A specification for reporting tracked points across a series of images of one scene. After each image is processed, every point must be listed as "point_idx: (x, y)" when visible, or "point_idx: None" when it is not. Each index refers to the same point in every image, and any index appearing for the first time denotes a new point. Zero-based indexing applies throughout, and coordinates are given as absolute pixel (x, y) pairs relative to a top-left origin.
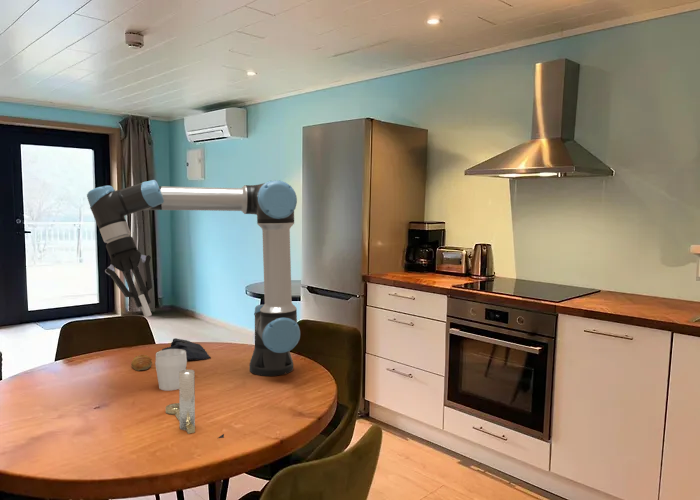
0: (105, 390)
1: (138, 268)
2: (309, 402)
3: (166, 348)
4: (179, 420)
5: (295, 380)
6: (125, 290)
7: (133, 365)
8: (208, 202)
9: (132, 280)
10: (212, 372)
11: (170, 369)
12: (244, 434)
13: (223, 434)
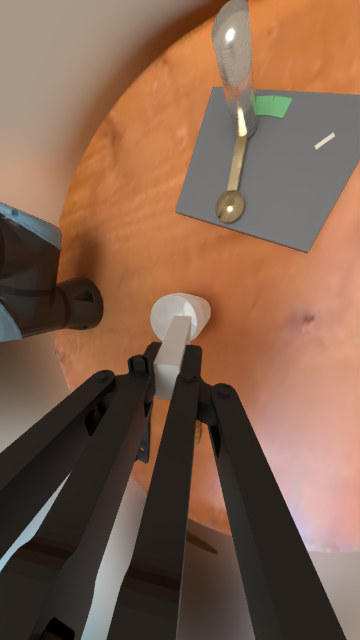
0: (266, 379)
1: (4, 567)
2: (94, 171)
3: (142, 457)
4: (243, 158)
5: (79, 252)
6: (235, 419)
7: (199, 431)
8: None
9: (157, 463)
10: (133, 342)
11: (191, 295)
12: (189, 93)
13: (213, 88)
